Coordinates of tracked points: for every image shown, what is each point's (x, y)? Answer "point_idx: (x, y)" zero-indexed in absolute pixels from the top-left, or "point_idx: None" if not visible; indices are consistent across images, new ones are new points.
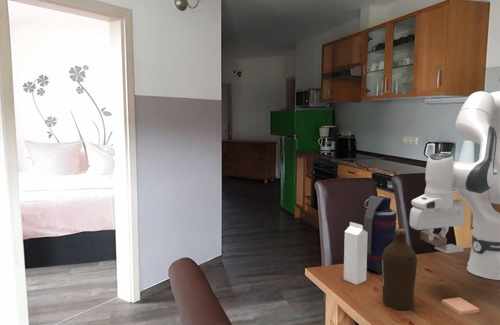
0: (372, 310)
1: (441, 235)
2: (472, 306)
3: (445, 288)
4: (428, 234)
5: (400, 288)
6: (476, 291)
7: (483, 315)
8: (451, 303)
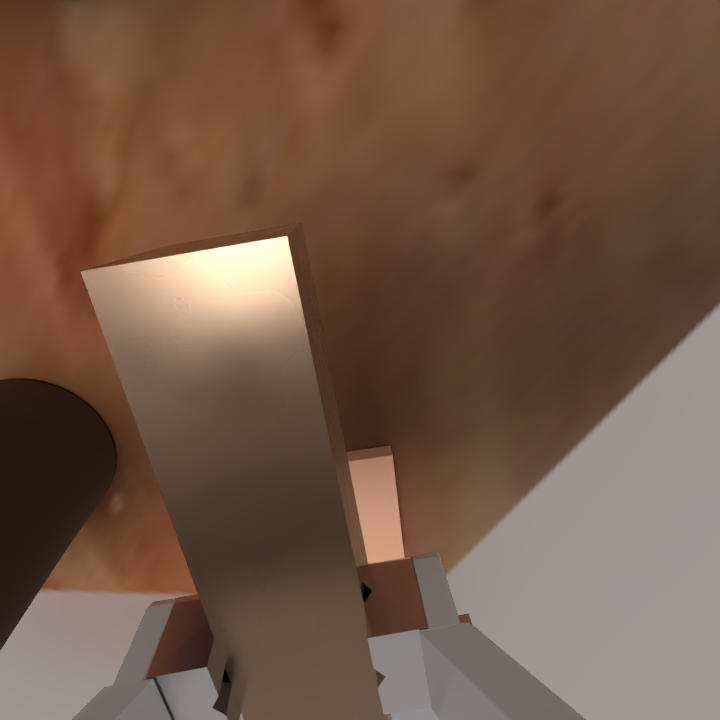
0: None
1: (381, 693)
2: (388, 539)
3: (408, 303)
4: (100, 698)
5: None
6: (557, 357)
7: None
8: None
